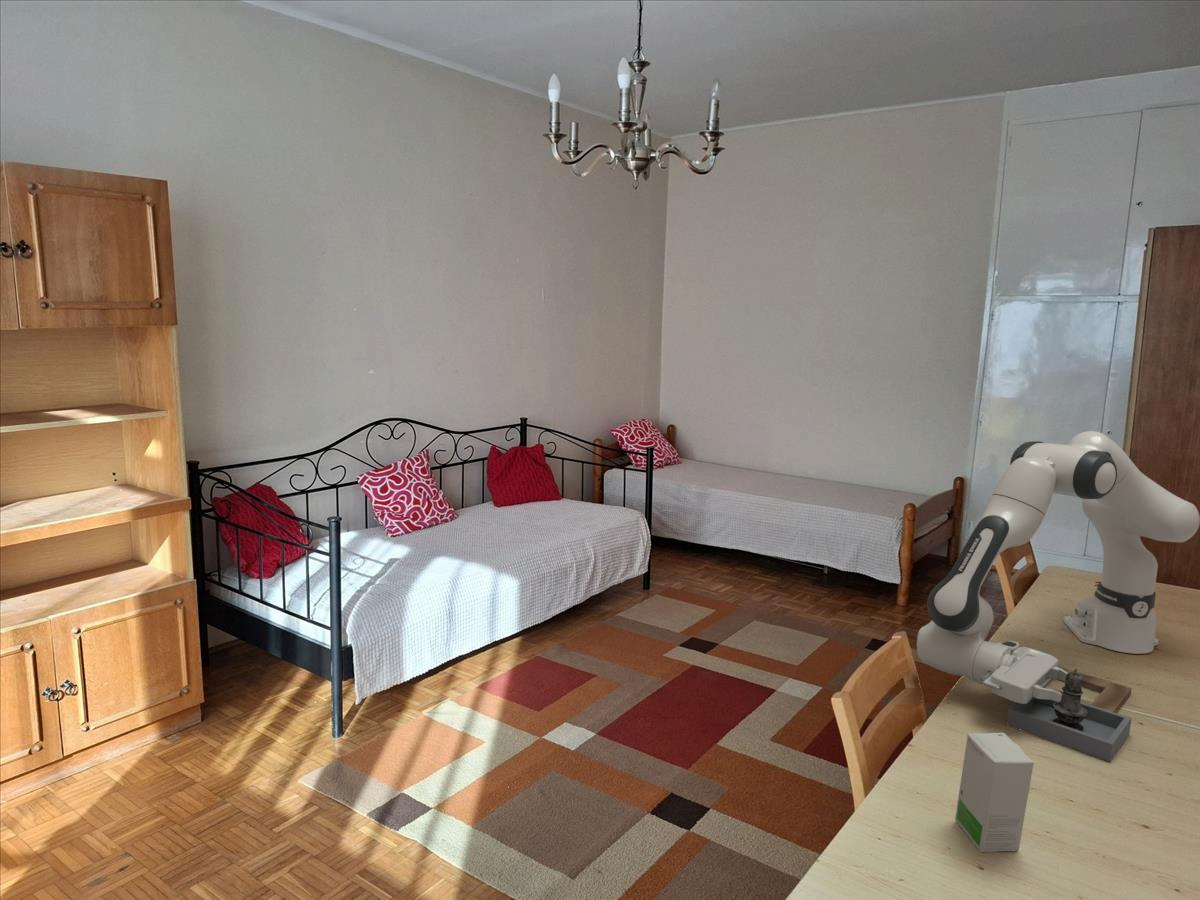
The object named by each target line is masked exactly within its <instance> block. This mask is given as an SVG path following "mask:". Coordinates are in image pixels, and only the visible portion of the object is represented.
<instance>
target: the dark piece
mask: <svg viewBox="0 0 1200 900" xmlns="http://www.w3.org/2000/svg"><path fill="white" fill-rule="evenodd" d="M1073 671H1074V672H1069V673H1067V675H1066V680H1065V682H1064V686H1062V688H1061V691H1062V692H1063V699H1062V701H1060V702H1055V703H1054V704H1053V707H1054V708H1055V709H1054V710H1055V714H1056V716H1057V717H1058V718H1056V719H1054V720H1053V722H1055V723H1058V724H1061V725H1064V726H1067V727H1070V728H1073V729H1076V730H1079V731H1083V726H1082V725H1081V724H1079V723H1080V722H1082V721H1083V719H1084V718H1085V716H1086V715H1087V711H1086V709H1085V708H1083V707H1081V705H1080V700H1082V699H1081V698H1082V695H1084V691H1083V690H1082V689H1083V687H1082V682H1083V677H1082V675H1080V674H1079V673H1080V672H1079V673H1077V672H1078V669H1077V668H1074V669H1073Z"/></svg>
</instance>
